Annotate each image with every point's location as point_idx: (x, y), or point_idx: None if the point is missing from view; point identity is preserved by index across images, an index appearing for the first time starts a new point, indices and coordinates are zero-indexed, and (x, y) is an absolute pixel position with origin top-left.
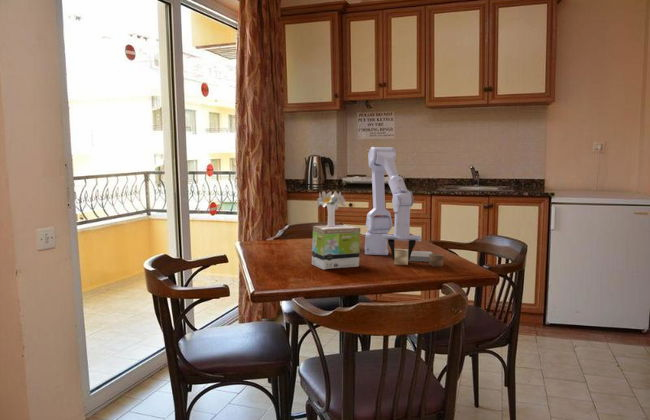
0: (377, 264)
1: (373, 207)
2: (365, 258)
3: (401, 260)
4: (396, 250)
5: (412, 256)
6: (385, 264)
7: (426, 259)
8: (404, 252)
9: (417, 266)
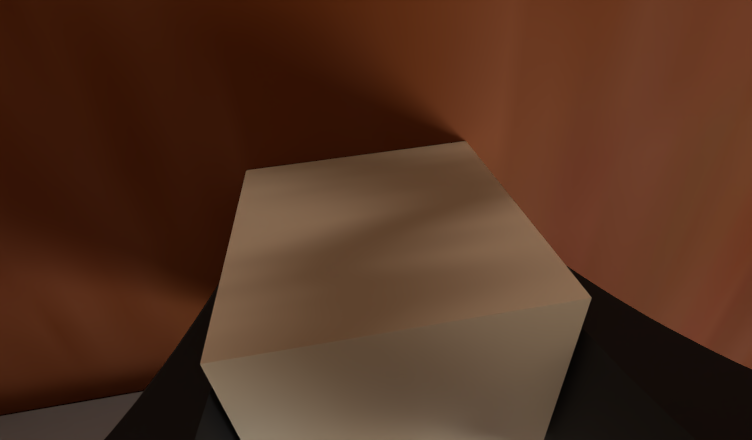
0: (743, 47)
1: None
2: (739, 322)
3: (363, 191)
4: (526, 379)
5: None
6: (611, 87)
7: (49, 432)
8: (314, 320)
9: (24, 87)
